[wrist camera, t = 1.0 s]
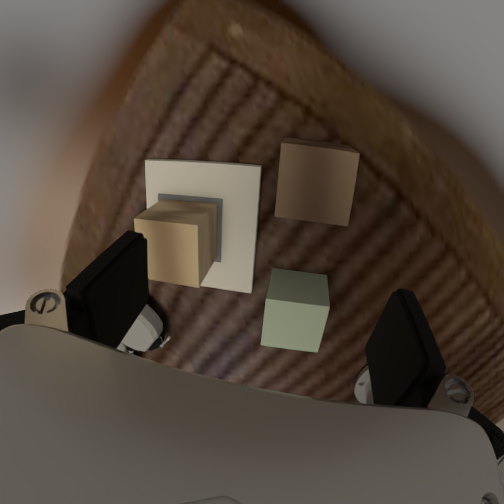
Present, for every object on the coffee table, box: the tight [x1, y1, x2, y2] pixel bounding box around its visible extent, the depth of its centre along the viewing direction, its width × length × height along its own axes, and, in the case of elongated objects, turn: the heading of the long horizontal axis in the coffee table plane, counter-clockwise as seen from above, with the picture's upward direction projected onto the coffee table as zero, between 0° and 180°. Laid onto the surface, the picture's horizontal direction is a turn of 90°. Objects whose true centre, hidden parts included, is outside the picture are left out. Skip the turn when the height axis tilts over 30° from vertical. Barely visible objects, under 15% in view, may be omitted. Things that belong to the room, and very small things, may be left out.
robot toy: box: [117, 304, 171, 356], centre depth 39 cm, size 12×4×15 cm
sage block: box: [261, 268, 330, 352], centre depth 32 cm, size 6×6×6 cm
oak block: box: [134, 199, 217, 288], centre depth 29 cm, size 6×6×6 cm
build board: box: [145, 159, 262, 293], centre depth 32 cm, size 12×14×1 cm
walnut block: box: [275, 137, 360, 227], centre depth 25 cm, size 6×6×6 cm
